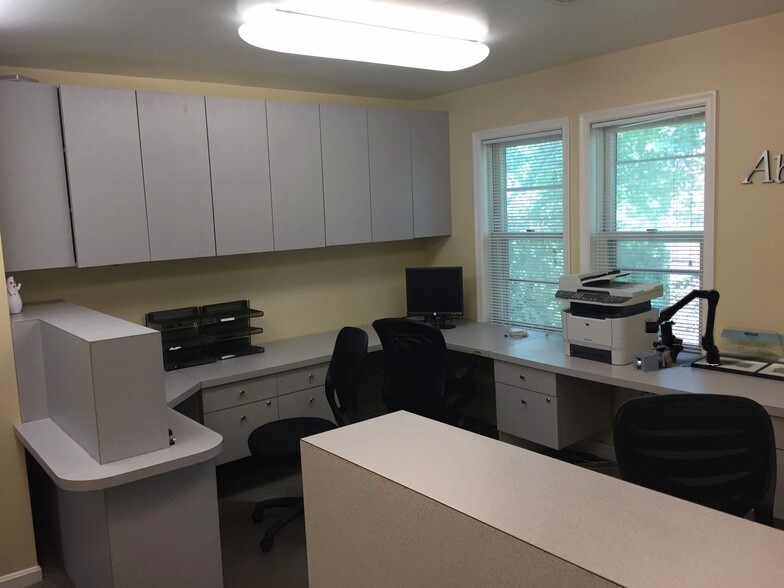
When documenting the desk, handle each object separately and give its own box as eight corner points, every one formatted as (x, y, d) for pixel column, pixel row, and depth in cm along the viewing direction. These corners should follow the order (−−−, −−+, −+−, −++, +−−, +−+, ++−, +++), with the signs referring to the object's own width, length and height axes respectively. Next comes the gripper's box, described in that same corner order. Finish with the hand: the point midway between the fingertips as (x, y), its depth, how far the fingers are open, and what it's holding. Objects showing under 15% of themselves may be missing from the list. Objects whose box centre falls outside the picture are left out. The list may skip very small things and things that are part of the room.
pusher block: (676, 365, 342) (676, 352, 341) (667, 367, 341) (666, 354, 340) (670, 363, 347) (669, 351, 346) (661, 365, 346) (660, 352, 345)
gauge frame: (675, 367, 339) (673, 351, 338) (645, 372, 335) (643, 357, 334) (658, 362, 352) (657, 348, 351) (629, 367, 348) (628, 353, 347)
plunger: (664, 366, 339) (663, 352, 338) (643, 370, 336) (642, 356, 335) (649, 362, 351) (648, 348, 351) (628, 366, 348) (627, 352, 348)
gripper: (691, 333, 335) (693, 362, 336) (668, 328, 353) (670, 356, 354) (673, 336, 332) (675, 365, 334) (650, 331, 351) (652, 359, 352)
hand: (668, 361), depth 344 cm, fingers open, 9 cm apart
